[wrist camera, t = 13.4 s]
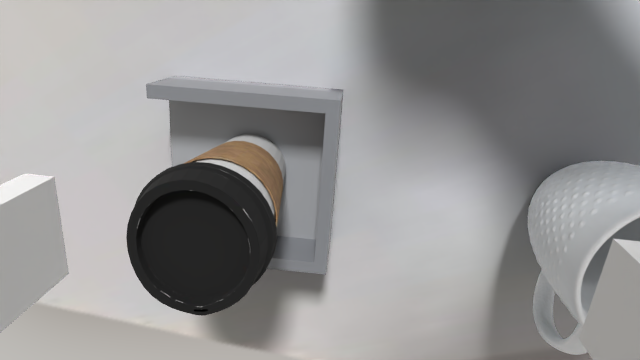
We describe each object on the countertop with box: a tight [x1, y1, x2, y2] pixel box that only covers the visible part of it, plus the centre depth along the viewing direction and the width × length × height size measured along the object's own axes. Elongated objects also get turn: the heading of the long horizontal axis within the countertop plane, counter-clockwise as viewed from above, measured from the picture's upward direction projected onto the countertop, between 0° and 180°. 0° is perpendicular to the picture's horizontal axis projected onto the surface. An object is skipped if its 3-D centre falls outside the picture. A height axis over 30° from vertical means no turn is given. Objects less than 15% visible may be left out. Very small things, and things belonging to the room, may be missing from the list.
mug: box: [527, 160, 640, 355], centre depth 33 cm, size 15×11×13 cm
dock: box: [146, 76, 343, 275], centre depth 37 cm, size 14×14×6 cm
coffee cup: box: [127, 134, 286, 315], centre depth 31 cm, size 8×8×15 cm
